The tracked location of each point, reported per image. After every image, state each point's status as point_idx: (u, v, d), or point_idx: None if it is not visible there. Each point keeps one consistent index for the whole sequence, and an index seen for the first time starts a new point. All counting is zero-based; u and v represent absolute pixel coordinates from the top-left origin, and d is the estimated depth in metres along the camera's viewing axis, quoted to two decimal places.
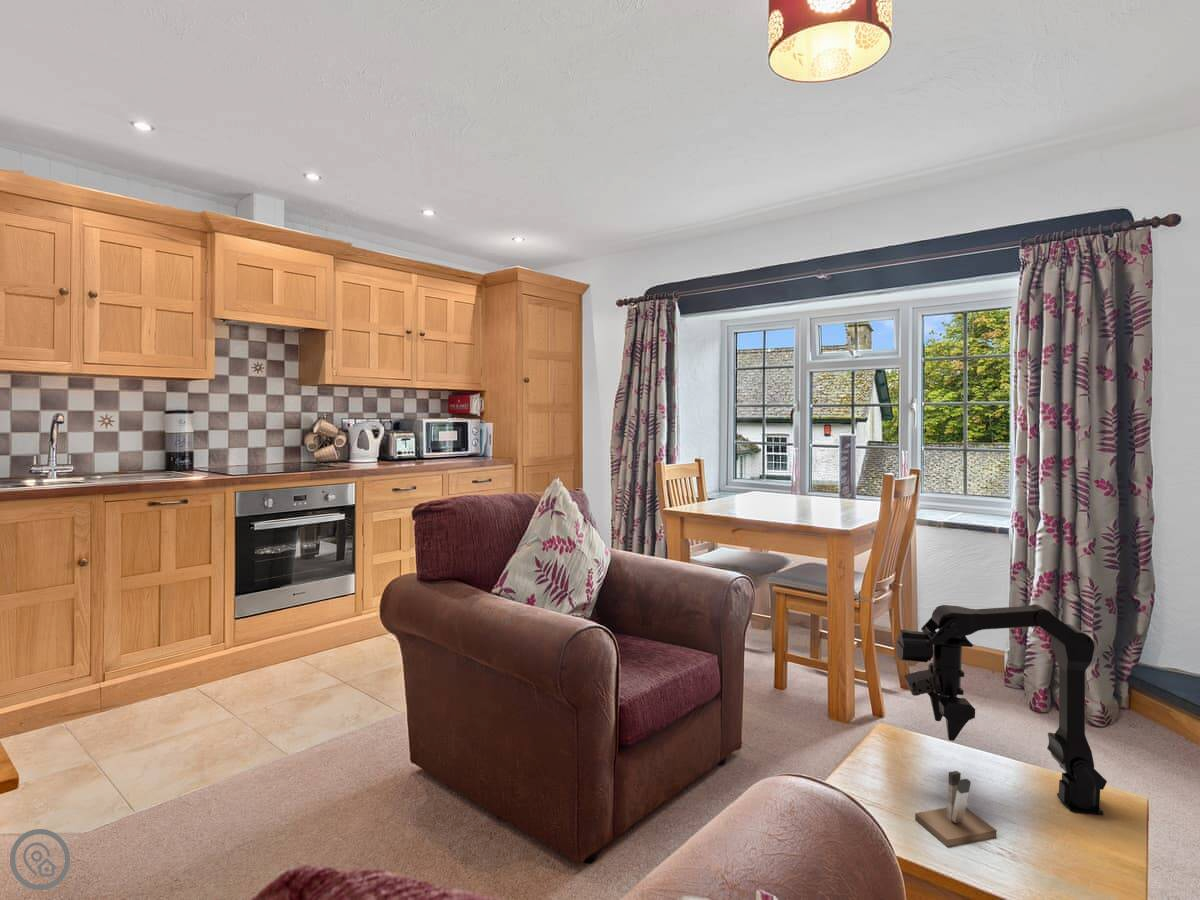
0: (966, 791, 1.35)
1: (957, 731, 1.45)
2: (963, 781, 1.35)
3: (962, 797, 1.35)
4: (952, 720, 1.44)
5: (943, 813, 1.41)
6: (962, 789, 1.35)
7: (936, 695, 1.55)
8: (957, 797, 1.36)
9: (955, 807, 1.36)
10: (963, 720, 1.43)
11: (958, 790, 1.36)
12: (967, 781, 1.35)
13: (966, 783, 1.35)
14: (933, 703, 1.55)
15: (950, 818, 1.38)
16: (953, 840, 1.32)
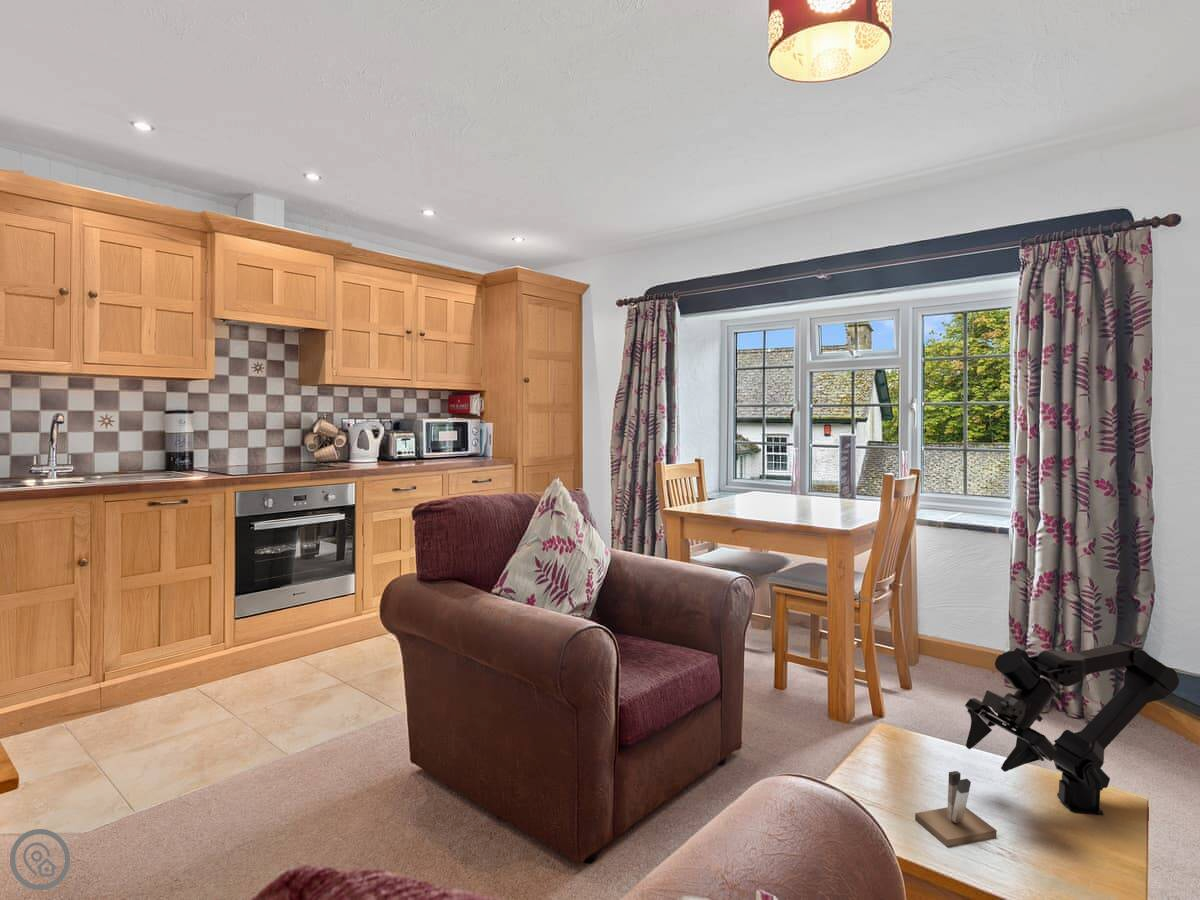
0: (966, 791, 1.35)
1: (1015, 764, 1.35)
2: (963, 781, 1.35)
3: (962, 797, 1.35)
4: (1021, 753, 1.35)
5: (943, 813, 1.41)
6: (962, 789, 1.35)
7: (981, 725, 1.46)
8: (957, 797, 1.36)
9: (955, 807, 1.36)
10: (1030, 758, 1.35)
11: (958, 790, 1.36)
12: (967, 781, 1.35)
13: (966, 783, 1.35)
14: (975, 730, 1.45)
15: (950, 818, 1.38)
16: (953, 840, 1.32)
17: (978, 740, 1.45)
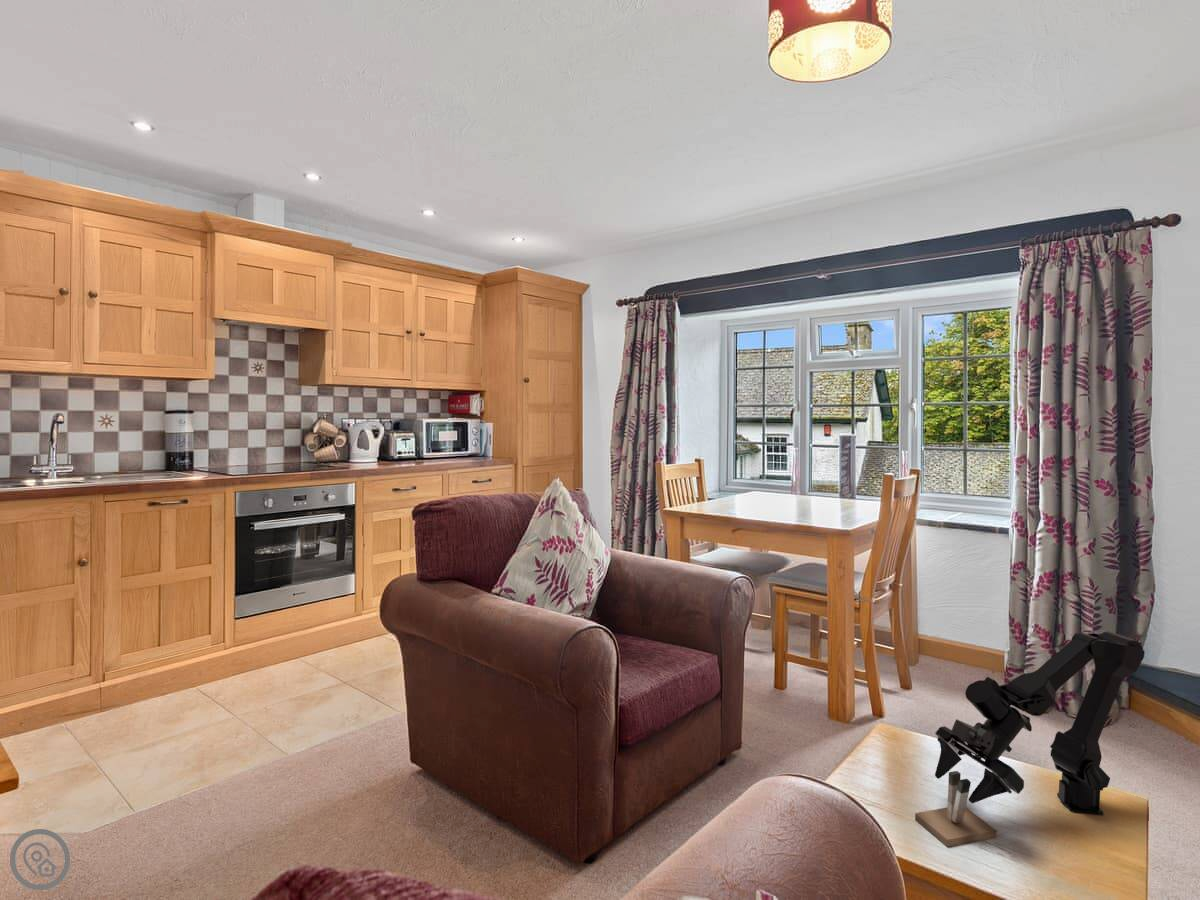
0: (966, 791, 1.35)
1: (983, 796, 1.34)
2: (963, 781, 1.35)
3: (962, 797, 1.35)
4: (989, 784, 1.34)
5: (943, 813, 1.41)
6: (962, 789, 1.35)
7: (950, 754, 1.44)
8: (957, 797, 1.36)
9: (955, 807, 1.36)
10: (998, 790, 1.33)
11: (958, 790, 1.36)
12: (967, 781, 1.35)
13: (966, 783, 1.35)
14: (944, 759, 1.43)
15: (950, 818, 1.38)
16: (953, 840, 1.32)
17: (947, 769, 1.44)
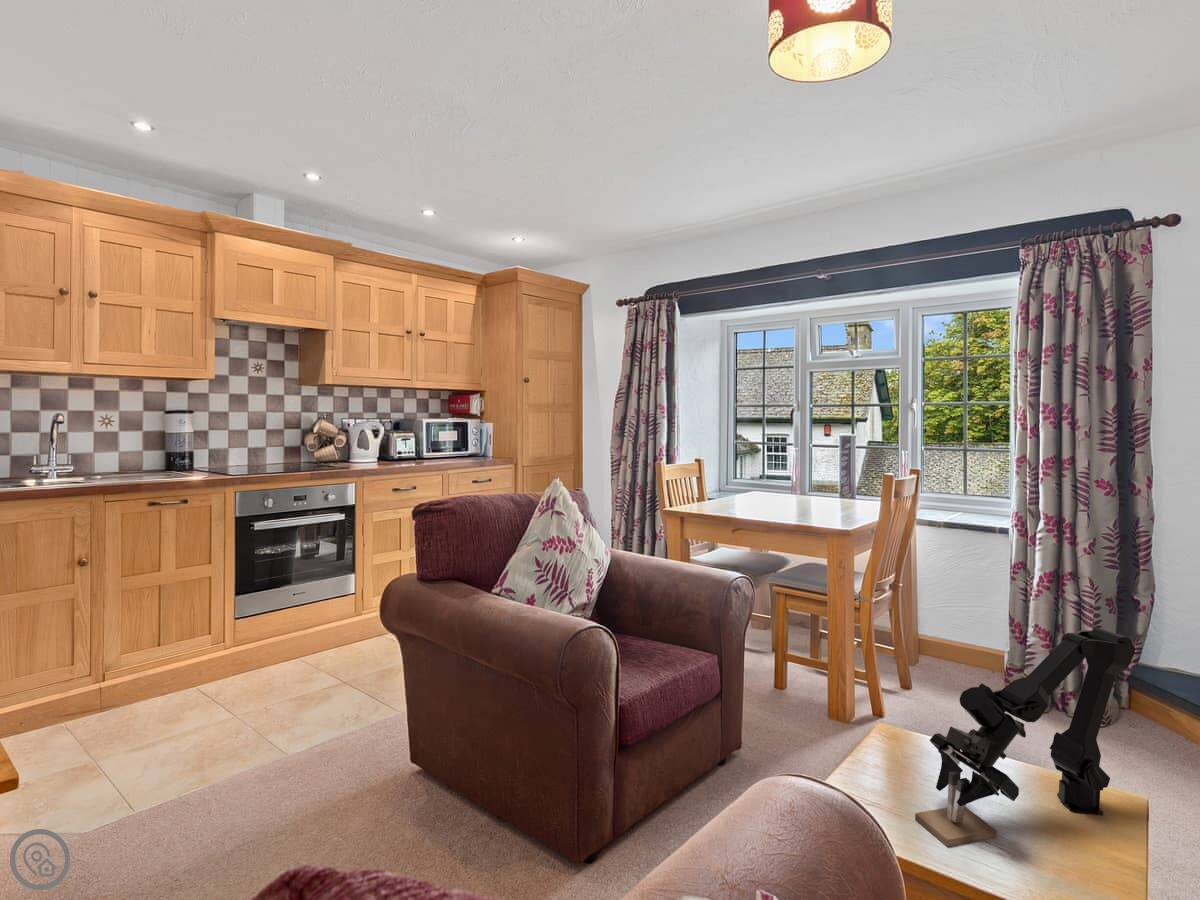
0: None
1: (971, 799, 1.35)
2: (962, 780, 1.35)
3: None
4: (976, 787, 1.35)
5: (943, 813, 1.41)
6: (961, 788, 1.35)
7: (952, 765, 1.42)
8: (956, 796, 1.36)
9: (955, 807, 1.37)
10: (986, 792, 1.35)
11: (957, 789, 1.36)
12: (966, 780, 1.35)
13: (965, 782, 1.35)
14: (945, 771, 1.41)
15: (950, 818, 1.38)
16: (953, 840, 1.32)
17: None
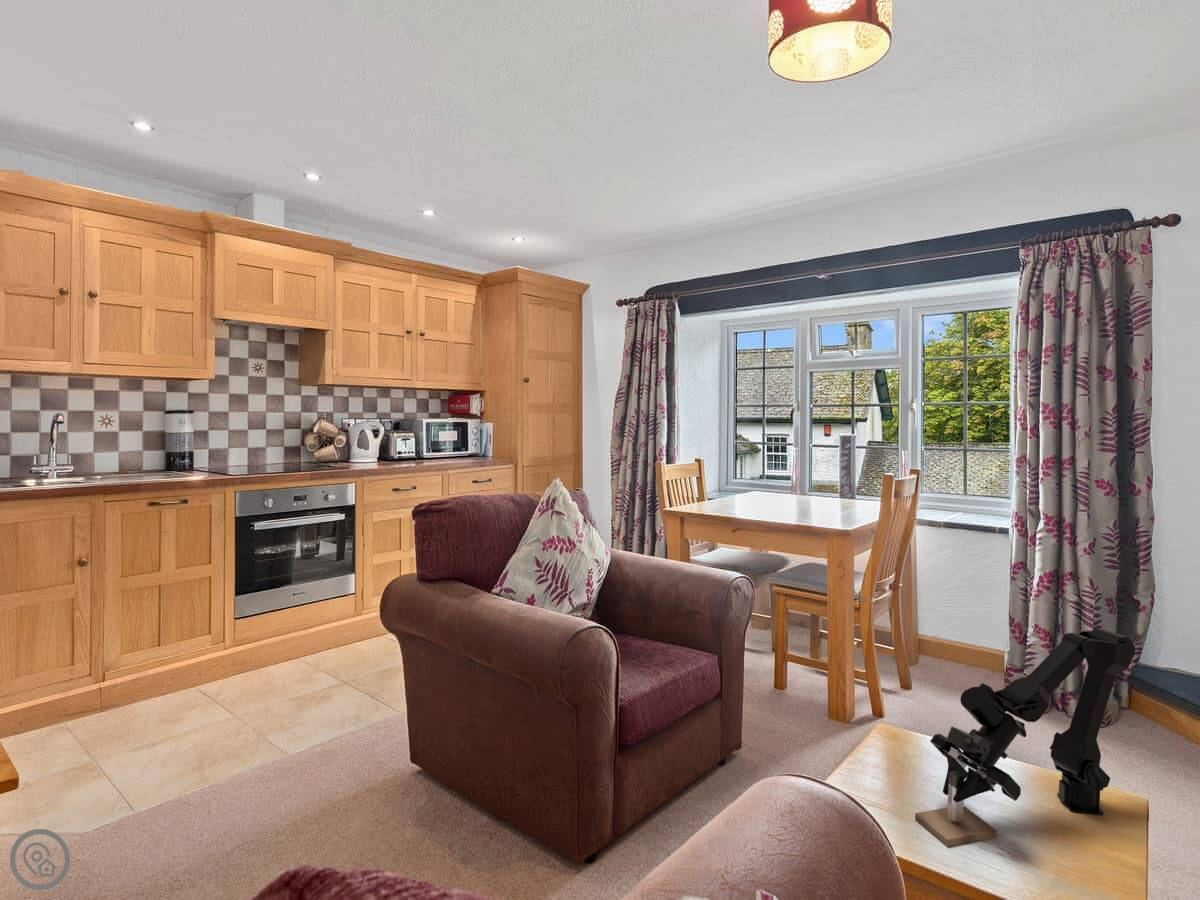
0: None
1: (967, 795, 1.36)
2: (957, 775, 1.37)
3: None
4: (972, 783, 1.36)
5: (943, 813, 1.41)
6: (957, 784, 1.36)
7: (958, 769, 1.40)
8: (953, 793, 1.37)
9: (953, 805, 1.37)
10: (982, 789, 1.36)
11: (953, 786, 1.37)
12: (960, 775, 1.37)
13: (960, 777, 1.36)
14: None
15: (950, 818, 1.38)
16: (953, 840, 1.32)
17: None
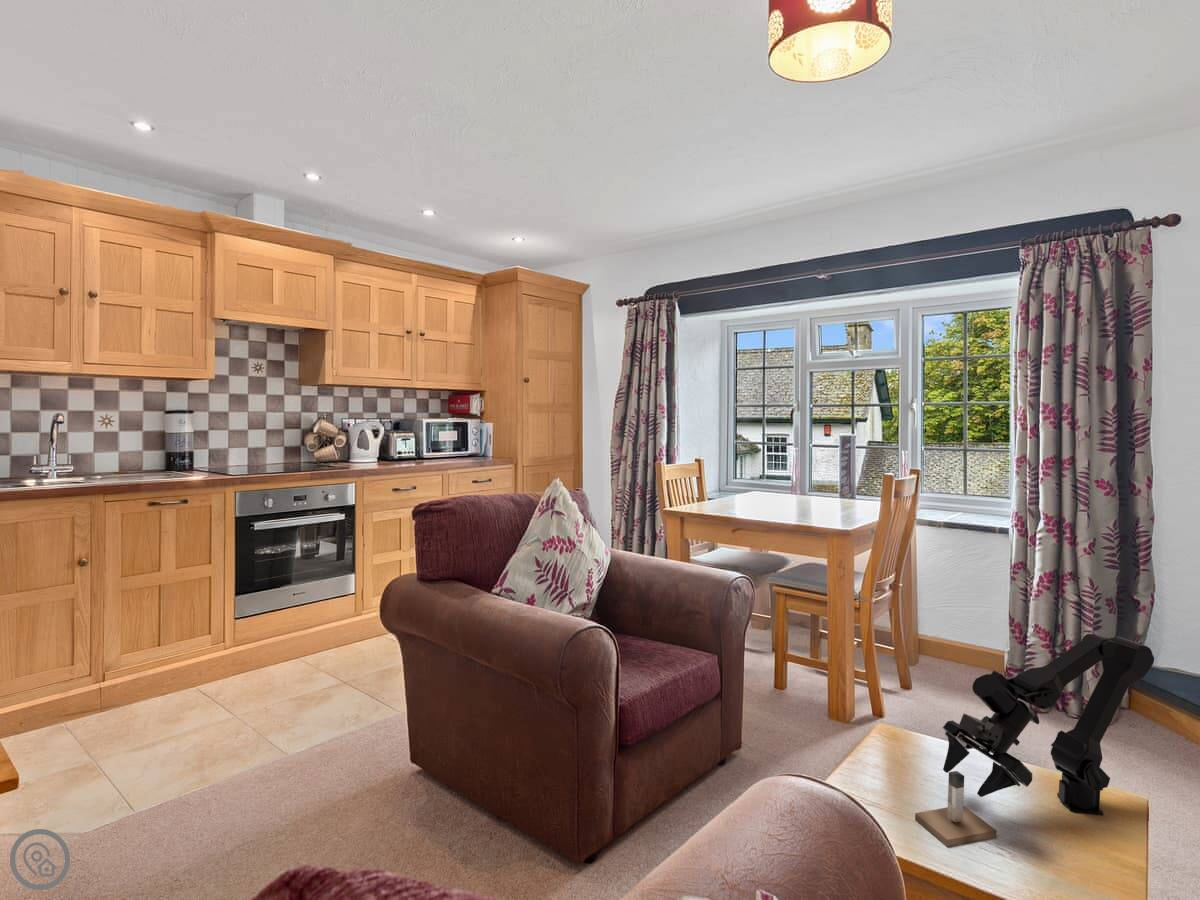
0: (961, 786, 1.37)
1: (992, 790, 1.34)
2: (957, 775, 1.37)
3: (958, 793, 1.36)
4: (997, 778, 1.34)
5: (943, 813, 1.41)
6: (957, 784, 1.36)
7: (958, 748, 1.44)
8: (953, 793, 1.37)
9: (953, 805, 1.37)
10: (1007, 783, 1.34)
11: (953, 786, 1.37)
12: (960, 775, 1.37)
13: (960, 777, 1.36)
14: (952, 753, 1.44)
15: (950, 818, 1.38)
16: (953, 840, 1.32)
17: (956, 763, 1.44)
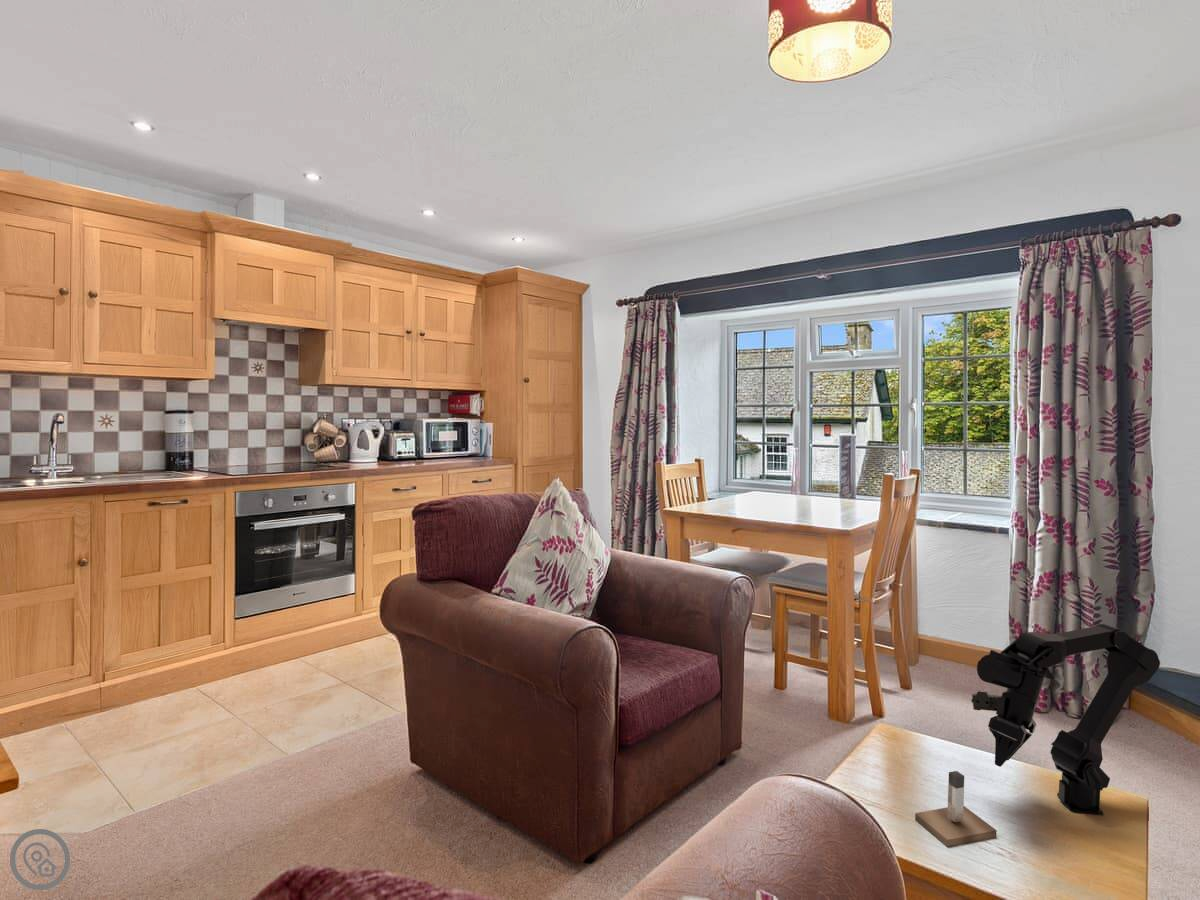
0: (961, 786, 1.37)
1: (1005, 756, 1.37)
2: (957, 775, 1.37)
3: (958, 793, 1.36)
4: (1002, 742, 1.38)
5: (943, 813, 1.41)
6: (957, 784, 1.36)
7: None
8: (953, 793, 1.37)
9: (953, 805, 1.37)
10: (1013, 745, 1.36)
11: (953, 786, 1.37)
12: (960, 775, 1.37)
13: (960, 777, 1.36)
14: None
15: (950, 818, 1.38)
16: (953, 840, 1.32)
17: None
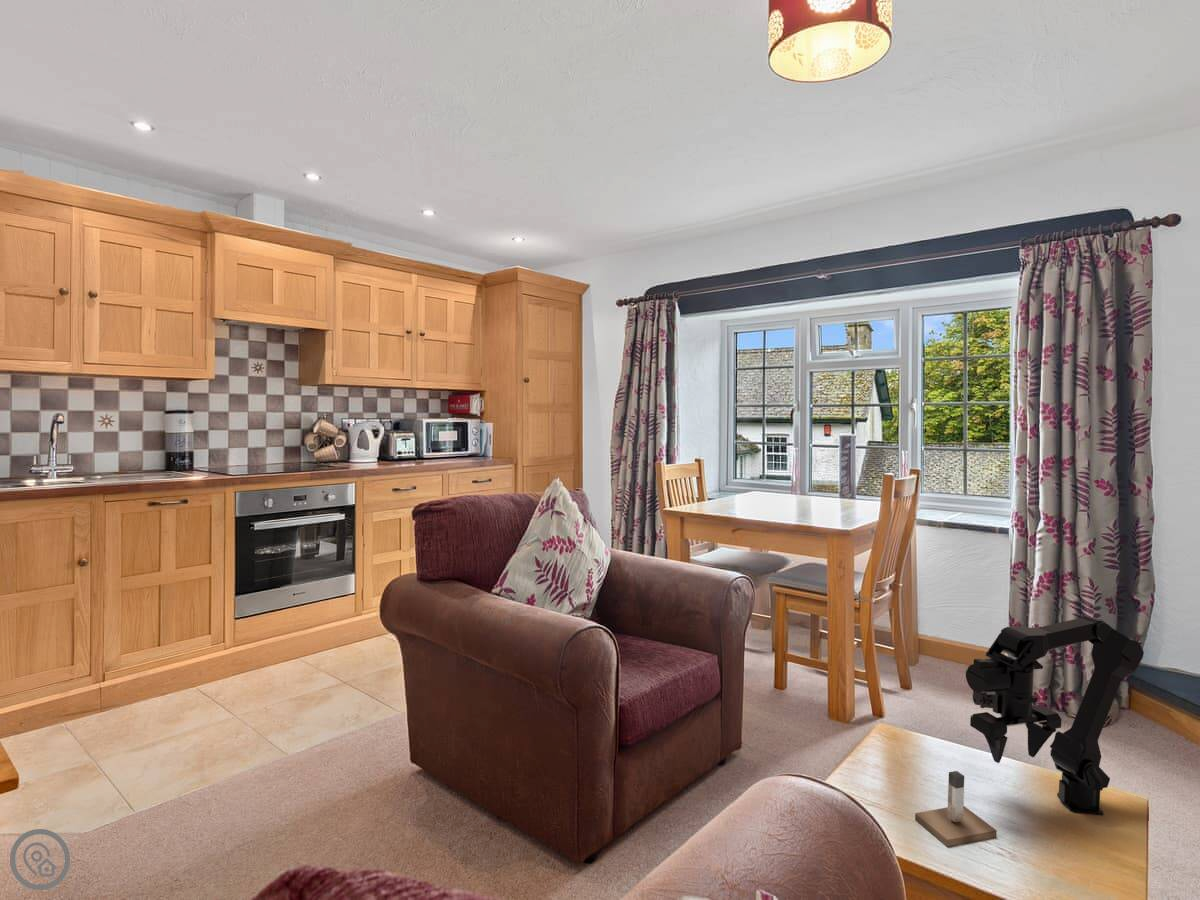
0: (961, 786, 1.37)
1: (997, 752, 1.40)
2: (957, 775, 1.37)
3: (958, 793, 1.36)
4: (991, 739, 1.41)
5: (943, 813, 1.41)
6: (957, 784, 1.36)
7: (1032, 728, 1.44)
8: (953, 793, 1.37)
9: (953, 805, 1.37)
10: (997, 741, 1.39)
11: (953, 786, 1.37)
12: (960, 775, 1.37)
13: (960, 777, 1.36)
14: (1028, 735, 1.44)
15: (950, 818, 1.38)
16: (953, 840, 1.32)
17: (1036, 745, 1.42)
